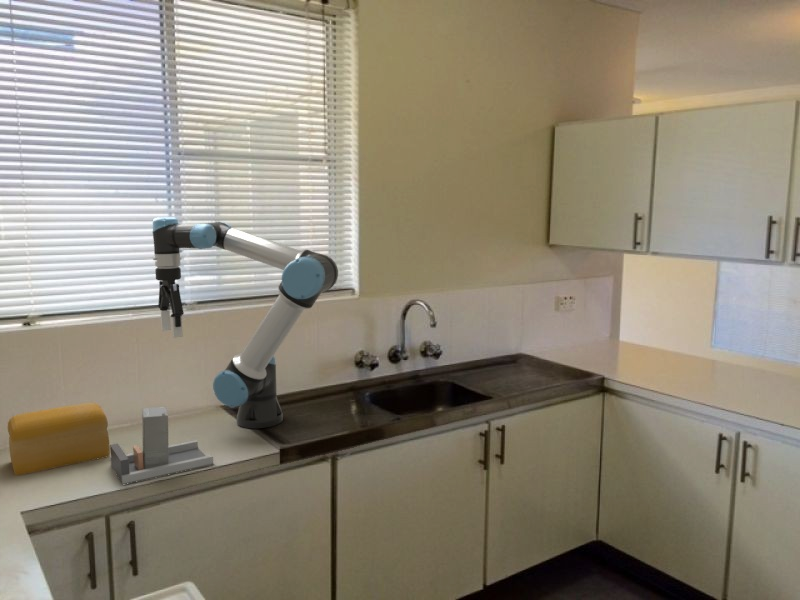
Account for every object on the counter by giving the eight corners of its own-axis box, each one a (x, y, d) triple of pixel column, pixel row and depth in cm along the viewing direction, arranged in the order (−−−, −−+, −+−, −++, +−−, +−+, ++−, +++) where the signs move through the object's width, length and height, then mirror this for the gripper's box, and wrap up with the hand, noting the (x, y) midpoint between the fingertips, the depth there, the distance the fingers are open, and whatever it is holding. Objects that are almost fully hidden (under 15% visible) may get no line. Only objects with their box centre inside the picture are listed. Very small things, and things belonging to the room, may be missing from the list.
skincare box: (142, 462, 189) (138, 408, 186) (169, 458, 191) (165, 404, 189) (144, 473, 181) (140, 416, 179) (171, 468, 184) (168, 413, 181)
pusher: (138, 462, 186) (137, 445, 186) (143, 469, 182) (142, 452, 181) (134, 463, 186) (133, 446, 185) (139, 470, 181) (137, 453, 180)
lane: (196, 447, 200) (195, 427, 199) (213, 464, 187) (212, 442, 186) (111, 465, 187) (109, 443, 186) (123, 485, 174) (121, 461, 173)
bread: (102, 443, 205) (98, 396, 203) (110, 456, 194) (107, 407, 192) (10, 461, 191) (5, 411, 189) (14, 476, 181) (9, 423, 179)
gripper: (145, 265, 217) (150, 329, 220) (166, 271, 197) (170, 341, 200) (169, 263, 222) (173, 326, 225) (191, 269, 201) (195, 338, 204)
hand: (171, 333), depth 212 cm, fingers open, 13 cm apart
